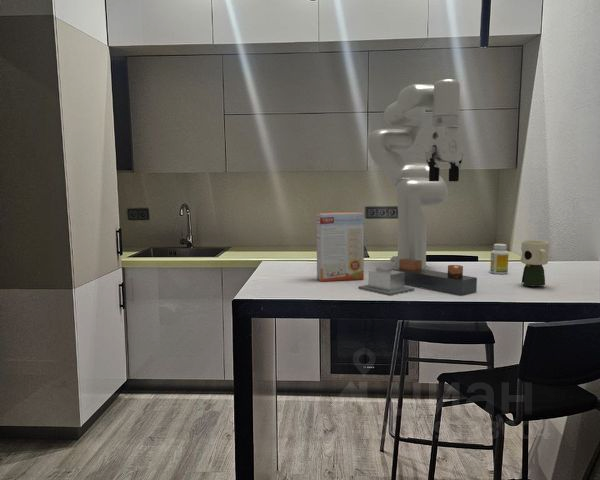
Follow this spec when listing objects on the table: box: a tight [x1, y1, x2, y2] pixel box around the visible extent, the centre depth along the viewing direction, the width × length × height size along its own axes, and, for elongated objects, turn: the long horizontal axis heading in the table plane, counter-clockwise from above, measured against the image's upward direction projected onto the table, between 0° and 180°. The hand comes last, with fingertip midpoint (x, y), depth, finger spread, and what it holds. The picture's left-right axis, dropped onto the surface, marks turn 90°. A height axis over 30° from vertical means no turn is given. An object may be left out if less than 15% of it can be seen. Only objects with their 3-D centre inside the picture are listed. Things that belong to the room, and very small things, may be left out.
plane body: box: [391, 258, 478, 296], centre depth 143 cm, size 24×7×7 cm, turn 39°
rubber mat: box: [357, 284, 415, 296], centre depth 140 cm, size 12×10×1 cm
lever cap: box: [368, 266, 405, 291], centre depth 140 cm, size 8×6×5 cm
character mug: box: [520, 239, 550, 288], centre depth 143 cm, size 11×7×13 cm, turn 2°
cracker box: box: [315, 211, 365, 282], centre depth 155 cm, size 14×6×21 cm, turn 101°
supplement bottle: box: [489, 243, 509, 275], centre depth 165 cm, size 5×5×10 cm
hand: (444, 181), depth 150 cm, fingers open, 9 cm apart
